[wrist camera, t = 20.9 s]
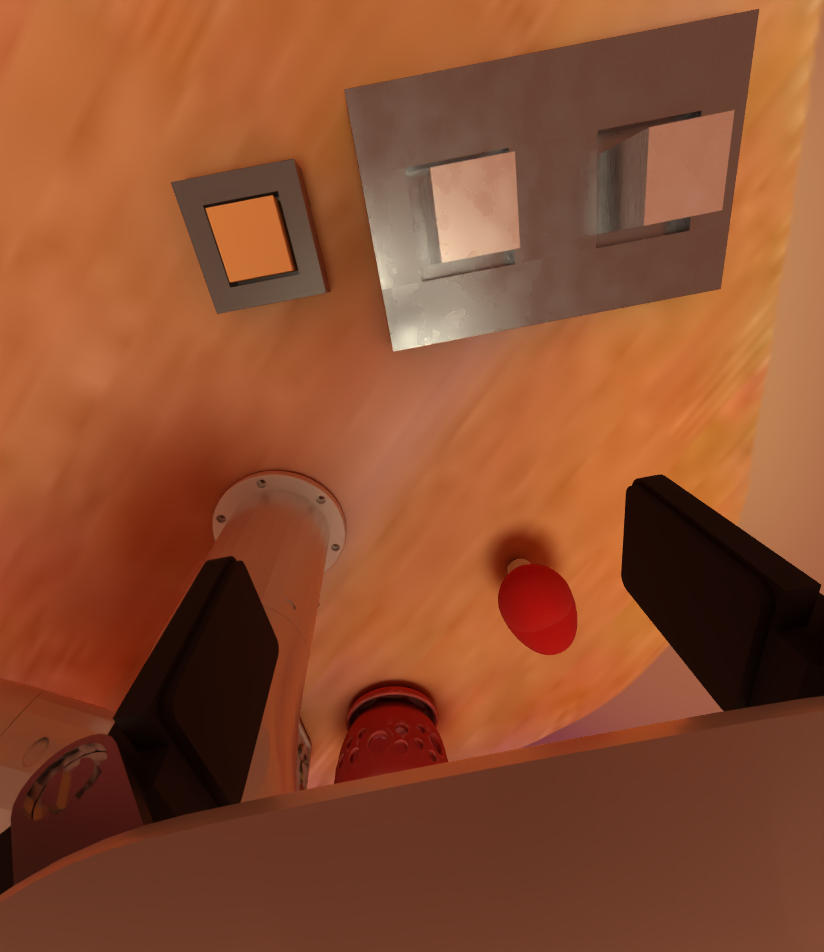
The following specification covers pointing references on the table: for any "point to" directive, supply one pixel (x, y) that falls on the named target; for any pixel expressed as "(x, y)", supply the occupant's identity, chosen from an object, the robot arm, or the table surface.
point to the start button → (252, 238)
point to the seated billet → (471, 208)
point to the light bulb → (538, 607)
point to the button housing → (292, 194)
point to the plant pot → (389, 734)
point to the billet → (665, 173)
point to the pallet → (546, 177)
